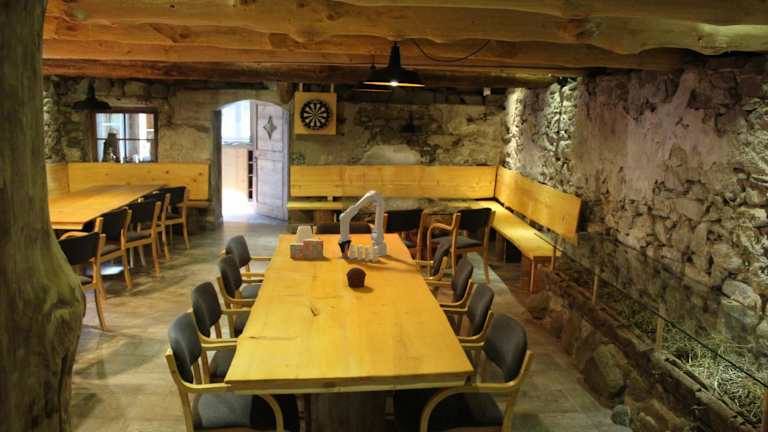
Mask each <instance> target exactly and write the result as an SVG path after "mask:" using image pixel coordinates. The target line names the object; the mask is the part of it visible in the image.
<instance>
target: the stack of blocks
mask: <svg viewBox="0 0 768 432" xmlns="http://www.w3.org/2000/svg"><path fill="white" fill-rule="evenodd" d="M289 254H290V255H289V258H290V259H312V260H313V259H315V260H318V259H322V258H324V239H323V238H314V239H304V240H303V243H296V242H291V243H290V244H289Z"/></svg>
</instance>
